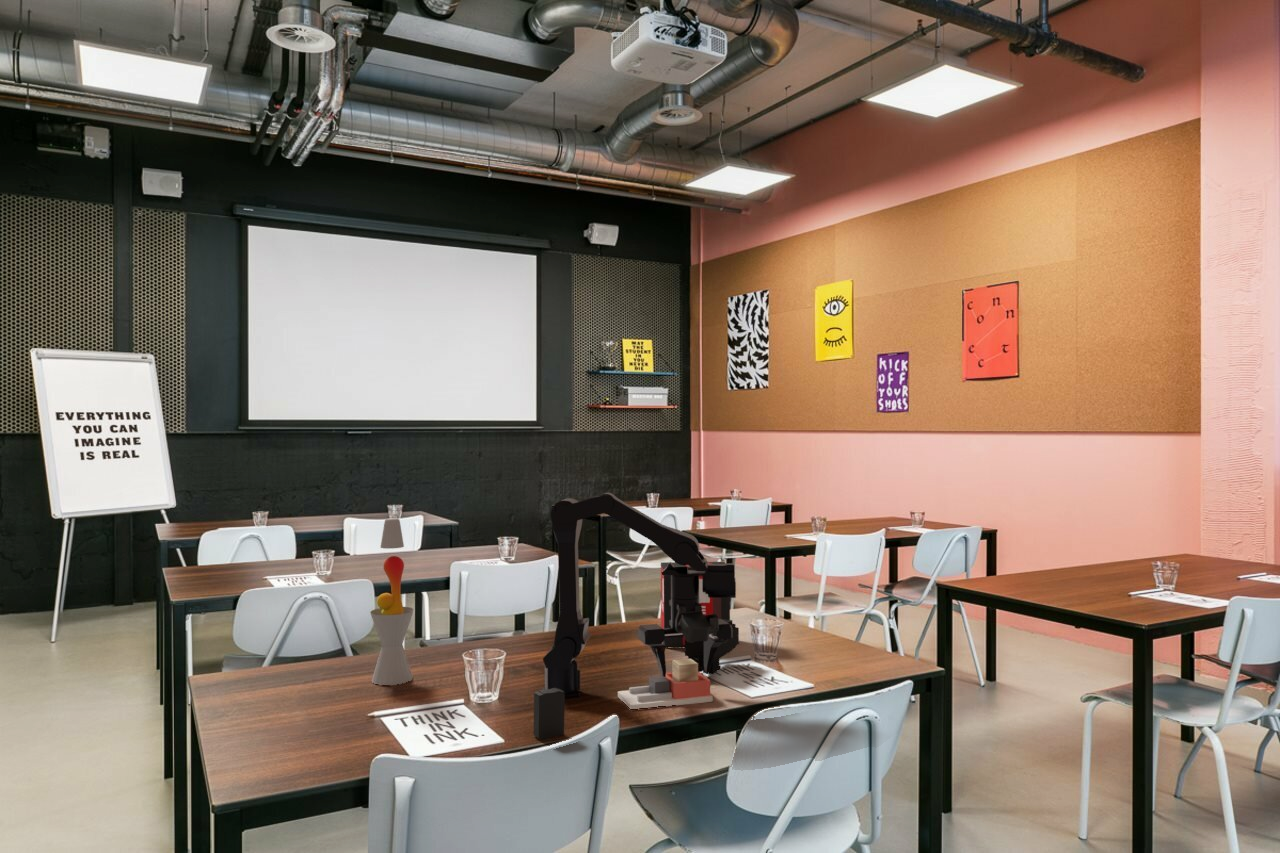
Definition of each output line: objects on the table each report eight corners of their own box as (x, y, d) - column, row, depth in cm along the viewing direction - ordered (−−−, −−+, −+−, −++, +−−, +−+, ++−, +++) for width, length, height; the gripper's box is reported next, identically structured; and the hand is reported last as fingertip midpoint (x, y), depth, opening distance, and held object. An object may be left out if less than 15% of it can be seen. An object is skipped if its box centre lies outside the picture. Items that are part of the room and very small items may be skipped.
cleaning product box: (664, 648, 205) (663, 567, 205) (661, 639, 214) (660, 562, 214) (730, 647, 206) (729, 566, 206) (724, 638, 215) (723, 561, 215)
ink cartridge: (558, 731, 147) (559, 686, 147) (564, 735, 145) (564, 690, 145) (533, 736, 144) (533, 690, 145) (538, 740, 142) (539, 694, 143)
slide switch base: (630, 710, 158) (630, 689, 158) (617, 696, 167) (617, 676, 167) (712, 701, 163) (712, 681, 163) (696, 688, 172) (696, 669, 172)
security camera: (679, 680, 178) (678, 634, 178) (712, 659, 194) (712, 617, 194) (708, 684, 174) (708, 637, 174) (740, 663, 191) (739, 620, 191)
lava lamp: (404, 671, 185) (404, 515, 186) (420, 680, 178) (419, 518, 179) (364, 678, 180) (364, 518, 180) (378, 688, 173) (378, 521, 173)
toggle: (655, 697, 162) (655, 682, 162) (649, 691, 166) (648, 676, 166) (669, 696, 163) (669, 681, 163) (663, 690, 167) (662, 675, 167)
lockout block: (679, 695, 164) (679, 665, 164) (672, 689, 168) (672, 660, 168) (698, 693, 165) (697, 663, 165) (690, 687, 169) (690, 658, 169)
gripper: (653, 607, 156) (654, 690, 156) (744, 601, 162) (744, 681, 161) (636, 597, 167) (636, 674, 167) (721, 591, 172) (722, 666, 172)
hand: (685, 674), depth 166 cm, fingers open, 9 cm apart
